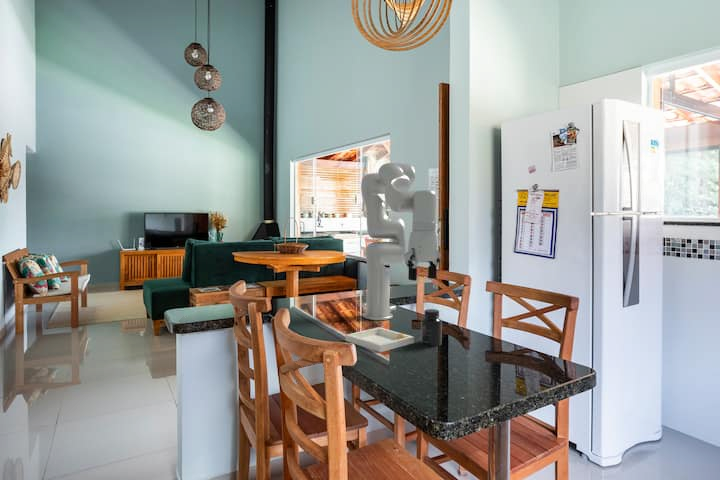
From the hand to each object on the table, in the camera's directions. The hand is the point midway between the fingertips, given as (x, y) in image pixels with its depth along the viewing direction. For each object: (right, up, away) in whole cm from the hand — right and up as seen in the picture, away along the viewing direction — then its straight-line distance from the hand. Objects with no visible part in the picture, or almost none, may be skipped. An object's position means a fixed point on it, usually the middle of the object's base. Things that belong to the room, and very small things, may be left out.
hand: (422, 279), depth 151 cm
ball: (-7, -21, 0) cm, 22 cm away
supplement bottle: (+3, -22, -1) cm, 23 cm away
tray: (-14, -22, 0) cm, 26 cm away
